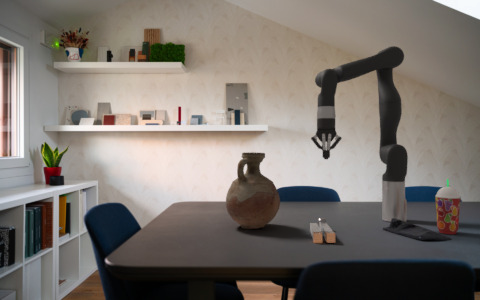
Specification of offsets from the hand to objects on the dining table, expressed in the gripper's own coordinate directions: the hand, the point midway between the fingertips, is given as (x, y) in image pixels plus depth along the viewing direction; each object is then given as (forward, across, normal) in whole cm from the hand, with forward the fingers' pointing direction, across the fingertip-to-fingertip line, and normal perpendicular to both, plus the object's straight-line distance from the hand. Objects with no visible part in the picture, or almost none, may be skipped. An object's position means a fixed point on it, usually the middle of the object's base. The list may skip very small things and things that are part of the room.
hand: (326, 159), depth 158 cm
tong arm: (+27, +3, +24) cm, 36 cm away
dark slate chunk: (+28, -30, +16) cm, 44 cm away
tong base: (+27, +5, +23) cm, 36 cm away
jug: (+27, +30, +11) cm, 42 cm away
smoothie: (+27, -43, +13) cm, 53 cm away
